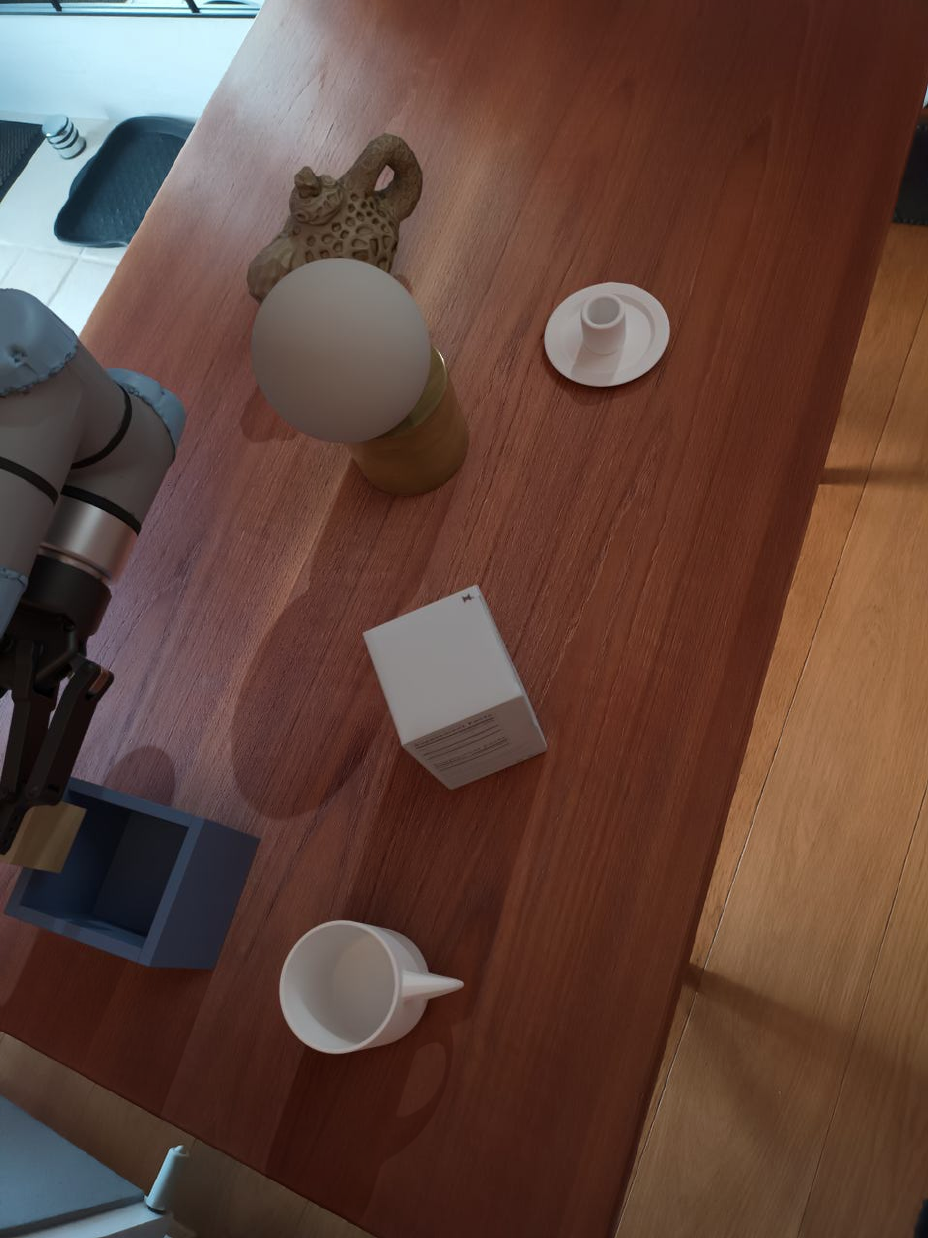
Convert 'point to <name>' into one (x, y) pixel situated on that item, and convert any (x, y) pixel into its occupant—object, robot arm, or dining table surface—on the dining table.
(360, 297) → the lamp
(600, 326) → the candle holder
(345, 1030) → the mug
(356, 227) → the teapot
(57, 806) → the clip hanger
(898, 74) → the dining table surface
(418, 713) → the supplement box
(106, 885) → the blue bin
